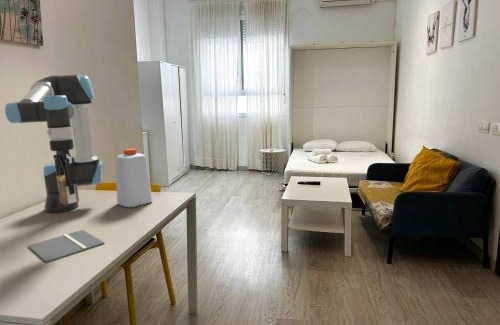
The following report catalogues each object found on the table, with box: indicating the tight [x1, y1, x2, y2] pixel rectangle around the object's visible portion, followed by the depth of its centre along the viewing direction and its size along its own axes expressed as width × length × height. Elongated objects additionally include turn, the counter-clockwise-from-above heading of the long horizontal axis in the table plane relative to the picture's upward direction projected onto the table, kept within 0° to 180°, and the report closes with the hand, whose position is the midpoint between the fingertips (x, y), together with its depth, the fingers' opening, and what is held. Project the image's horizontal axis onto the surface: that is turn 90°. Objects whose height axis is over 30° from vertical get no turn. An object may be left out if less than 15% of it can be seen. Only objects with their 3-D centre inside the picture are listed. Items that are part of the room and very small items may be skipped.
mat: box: [27, 229, 105, 263], centre depth 135 cm, size 20×20×1 cm
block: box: [56, 175, 80, 205], centre depth 133 cm, size 5×5×10 cm
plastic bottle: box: [115, 148, 153, 209], centre depth 183 cm, size 15×15×28 cm
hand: (69, 201), depth 134 cm, fingers closed on block, 5 cm apart
